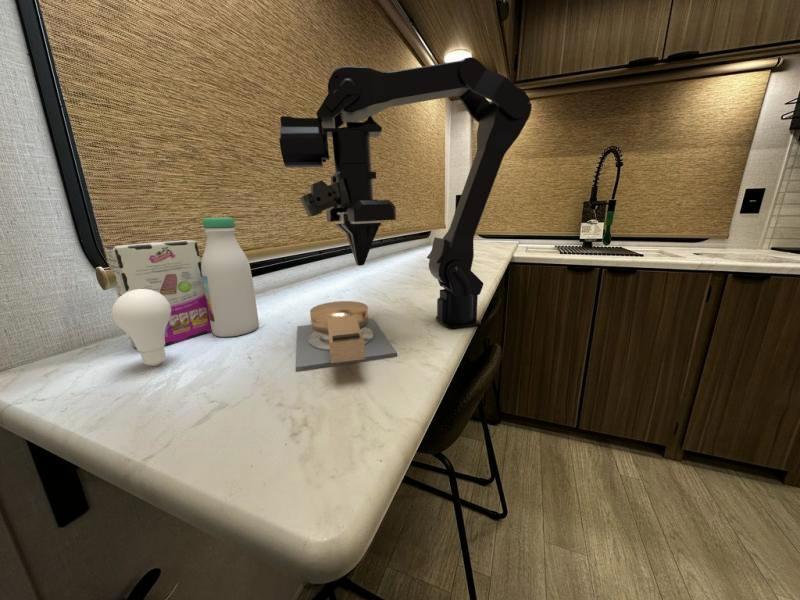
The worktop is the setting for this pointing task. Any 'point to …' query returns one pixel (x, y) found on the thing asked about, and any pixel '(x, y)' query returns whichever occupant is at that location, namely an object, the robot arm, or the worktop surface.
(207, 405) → the worktop surface
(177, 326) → the candy bar box
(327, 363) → the mat
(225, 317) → the milk bottle
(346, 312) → the door handle
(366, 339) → the white disc
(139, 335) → the lightbulb
